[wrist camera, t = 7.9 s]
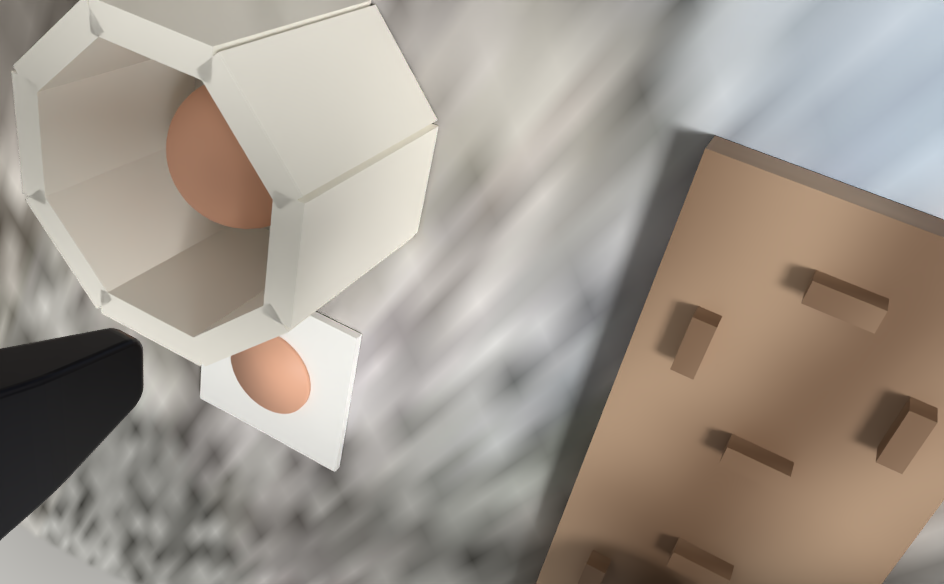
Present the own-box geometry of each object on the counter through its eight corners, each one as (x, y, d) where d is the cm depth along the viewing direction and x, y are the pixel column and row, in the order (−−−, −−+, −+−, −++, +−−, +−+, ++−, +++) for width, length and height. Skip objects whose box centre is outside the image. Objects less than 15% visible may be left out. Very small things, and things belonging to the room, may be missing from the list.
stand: (1089, 273, 18) (1099, 308, 16) (751, 739, 27) (742, 783, 26) (715, 135, 20) (698, 156, 18) (527, 613, 30) (508, 649, 28)
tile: (361, 334, 27) (353, 341, 27) (339, 466, 31) (331, 475, 30) (211, 260, 29) (201, 266, 28) (205, 394, 32) (196, 401, 32)
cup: (457, 32, 21) (317, 89, 17) (403, 303, 26) (281, 409, 21) (191, -66, 24) (0, -40, 19) (184, 200, 28) (30, 275, 23)
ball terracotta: (360, 88, 23) (269, 131, 19) (342, 218, 25) (257, 276, 22) (236, 40, 24) (129, 73, 20) (228, 169, 26) (131, 217, 23)
